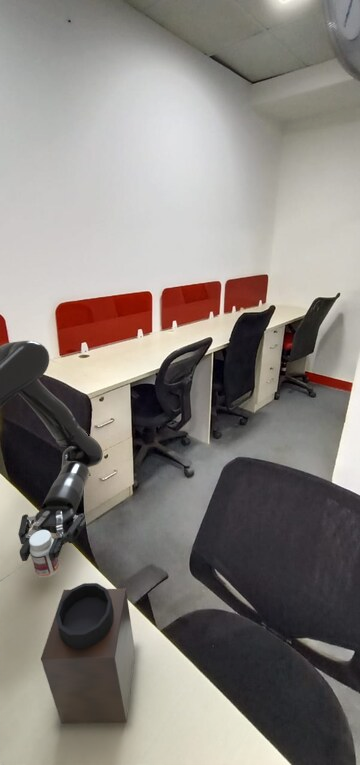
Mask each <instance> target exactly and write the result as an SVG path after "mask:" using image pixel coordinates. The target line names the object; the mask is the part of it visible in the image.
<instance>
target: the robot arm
mask: <svg viewBox="0 0 360 765" xmlns="http://www.w3.org/2000/svg"><path fill="white" fill-rule="evenodd" d="M49 364H50V354H49V351H48V349H47V348H46V346H45V345H43V344H42V343H40V342H38V341H34V340H18V341H11V342H7V343H4V344H2V345H0V408H2V407H3V406H4V405H5V404H6V403H7V402H8V401H9V400H11V399H12V398H13V397H15V396H16V395H17V394H18V395H19V396H20V397H21V398H22V399H23V400H24V401H25V402H26V403H27V404H28V406H29V407H30V408H31V409H32V410H33V411H34V413H35V414H36V416H38V418H39V419H40V420H41V421H42V423H43V424H44V425H45V427H46V429H47V430H48V431H49V433H50V434H51V436H52V437H53V438H54V440H55V442H56V443H57V444H58V445H59V446H60V447H67V448H66V449H65V450H64V451H63V452H62V456H61V457H62V461H61V469H60V471H59V474H58V476H57V477H56V479H55V480H54V482H53V483H52V485H51V487H50V489H49V491H48V493H47V495H46V496H45V499H44V500H43V503H42V505H41V507H40V510H39V511H38V512H37V513H36V514H35V515H32V516H29V515H28V513H27V514H23V515H22V516H21V520H20V524H19V528H18V532H17V534H18V538H19V541H20V544H21V547H20V549H19V556H20V559H21V561H22V562H27V561H28V560H29V558H30V556H31V554H30V543H29V540H30V537H31V536H32V535H33V534H34V533H35V532H37V531H40V530H47V531H49V532H50V534H56V537H54V538H53V540H54V541H53V544H52V546H51V548H50V551H49V559H50V561H54V560H55V558H57V557H58V558H59V556H60V554H61V551H62V548H63V546H64V545H66V544H67V543H68V544H73V543H75V541H76V539H77V538H78V536H80V534H81V532H82V531H83V529H84V528H85V526H86V525H87V522H86V516H85V513H82V512H81V513H79V514H78V515H77V514H76V513H77V511H78V508H79V505H80V503H81V500H82V498H83V494H84V490H85V486H86V484H87V482H88V479H89V474H90V472H89V468H92V467H94V466H97V465H99V464H100V463H101V462H102V460H103V453H104V452H103V449H102V447H101V445H100V443H99V442H98V441H97V440H96V439H95V438H94V437H92V435H90V436H88V434H89V433H88V432H87V431H86V430H85V429H83V428H82V427H81V426H80V424H79V422H78V421H77V420H76V418H75V416H74V415H73V413H72V411H71V410H70V409H69V408H68V407H67V406H66V404H65V403H64V402H62V400H60V399H59V398H57V397H56V396H55V395H54V394H53V393H52V392H50V391H49V389H48V388H46V386H45V385H44V384H43V383H42V382H41V381H40V378H41V377H43V375H44V374H45V373H46V372H47V370H48V367H49ZM86 432H87V433H88V434H87V433H86ZM68 527H69V528H68ZM66 528H68V530H67V531H66V530H65V529H66Z"/></svg>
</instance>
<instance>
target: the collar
mask: <svg viewBox="0 0 360 765" xmlns="http://www.w3.org/2000/svg"><path fill="white" fill-rule="evenodd" d="M107 589H108V588H107V587H105V586H103V585H101V584H100V583H98V582H87V583H85V582H84V583H81V584H79V585H77V586H75V587H73V588H71V589H69V590H70V591H69V592H68V593H67V594H66V595H65V596H64V597H63V598H62V599H61V598H60V599H61V601H60V600H59V602H60V603H59V602H58V605H59V606H57V608H58V609H57V608H56V611H57V612H55V614H56V620H57V624H58V628H59V634H60V637H61V639H62V641H63V642H64V643H65V644H66V645H67V646H69V647H71V648H74V649H85V648H89V647H91V646H94V645H95V644H97V643H98V642H100V641H101V640H102V639H103V638H104V637H105V636H106V635H107V633H108V632H109V630H110V628H111V626H112V623H113V618H114V611H113V605H112V600H111V597H110V595H109V592H108V590H107Z"/></svg>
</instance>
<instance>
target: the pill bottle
mask: <svg viewBox="0 0 360 765" xmlns="http://www.w3.org/2000/svg"><path fill="white" fill-rule="evenodd" d="M53 541H54V538H53V537H52V533H50V532H49V531H47V530H40V531H37V532H35V533H34V534H33V535H32V536H31V537H30V540H29V543H30V558H31V561H32V564H33V567H34V570H35V571H34V572H35V574H36V575H37V576H38V577H40V578H49V577H51V576H53V575H54V574H55V573H56V572H58V570H59V568H60V566H61V564H60V557H59V556H58V557H57V558H55V560H54V561H50V559H49V551H50V548H51V546H52V544H53Z"/></svg>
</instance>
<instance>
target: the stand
mask: <svg viewBox="0 0 360 765" xmlns="http://www.w3.org/2000/svg"><path fill="white" fill-rule="evenodd" d="M106 589H107V590H108V592H109V595H110V597H111V600H112V605H113V611H114V618H113V623H112V626H111V628H110V630H109V632H108V633H107V635H106V636H105V637H104V638H103V639H102V640H101V641H100V642H98V643H97V644H95V645H94V646H91V647H89V648H85V649H74V648H71V647H69V646H67V645H66V644H65V643H64V642H63V641H62V639H61V637H60V634H59V628H58V624H57V620H56V612H57V609H58V606H59V603H60V601H61V599H62V598H63V597H64V596H65V595H66V594H67V593H68V592H69V591H70V590H71V589H63V590H62V594H61V597H60V600H59V602H58V606H57V608H56V612H55V614H54V617H53V619H52V620H53V621H52V623H51V627H50V629H49V633H48V635H47V637H46V638H47V639H46V641H45V644H44V648H43V650H42V654H41V657H40V662H41V664H42V667H43V670H44V674H45V677H46V679H47V683H48V687H49V689H50V693H51V695H52V699H53V703H54V706H55V708H56V711H57V714H58V717H59V722H60V724H117V723H118V724H121V723H125V724H126V723H127V722H128V714H129V705H130V696H131V690H132V689H131V688H132V680H133V671H134V664H135V653H136V649H135V642H134V635H133V628H132V621H131V615H130V607H129V600H128V593H127V588H106Z"/></svg>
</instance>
